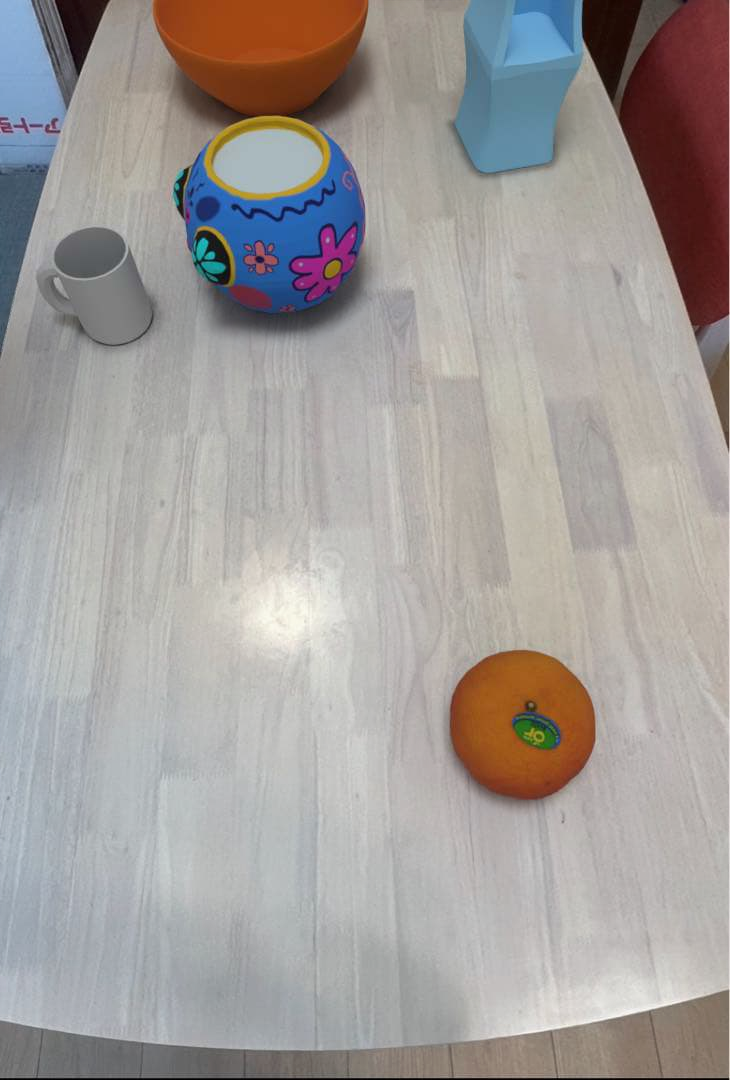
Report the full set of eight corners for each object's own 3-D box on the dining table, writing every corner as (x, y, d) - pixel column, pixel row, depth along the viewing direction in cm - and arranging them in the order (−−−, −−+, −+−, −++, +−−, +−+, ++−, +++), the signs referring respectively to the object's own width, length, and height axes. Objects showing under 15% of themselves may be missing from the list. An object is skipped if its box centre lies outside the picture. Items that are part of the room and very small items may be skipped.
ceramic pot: (185, 245, 83) (149, 116, 70) (339, 209, 86) (332, 77, 72) (222, 363, 76) (189, 243, 62) (388, 320, 78) (391, 195, 65)
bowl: (387, 38, 100) (389, -48, 91) (342, 160, 89) (339, 76, 80) (209, 16, 103) (193, -70, 94) (144, 132, 92) (119, 47, 83)
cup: (150, 345, 77) (124, 279, 69) (52, 349, 77) (15, 283, 69) (156, 293, 80) (132, 223, 72) (62, 296, 80) (27, 228, 72)
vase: (477, 175, 88) (512, -78, 66) (453, 123, 92) (478, -131, 70) (557, 161, 89) (618, -93, 66) (529, 110, 93) (578, -145, 71)
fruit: (449, 662, 61) (458, 628, 54) (577, 675, 61) (604, 642, 54) (441, 798, 56) (451, 781, 49) (581, 813, 56) (611, 798, 49)
